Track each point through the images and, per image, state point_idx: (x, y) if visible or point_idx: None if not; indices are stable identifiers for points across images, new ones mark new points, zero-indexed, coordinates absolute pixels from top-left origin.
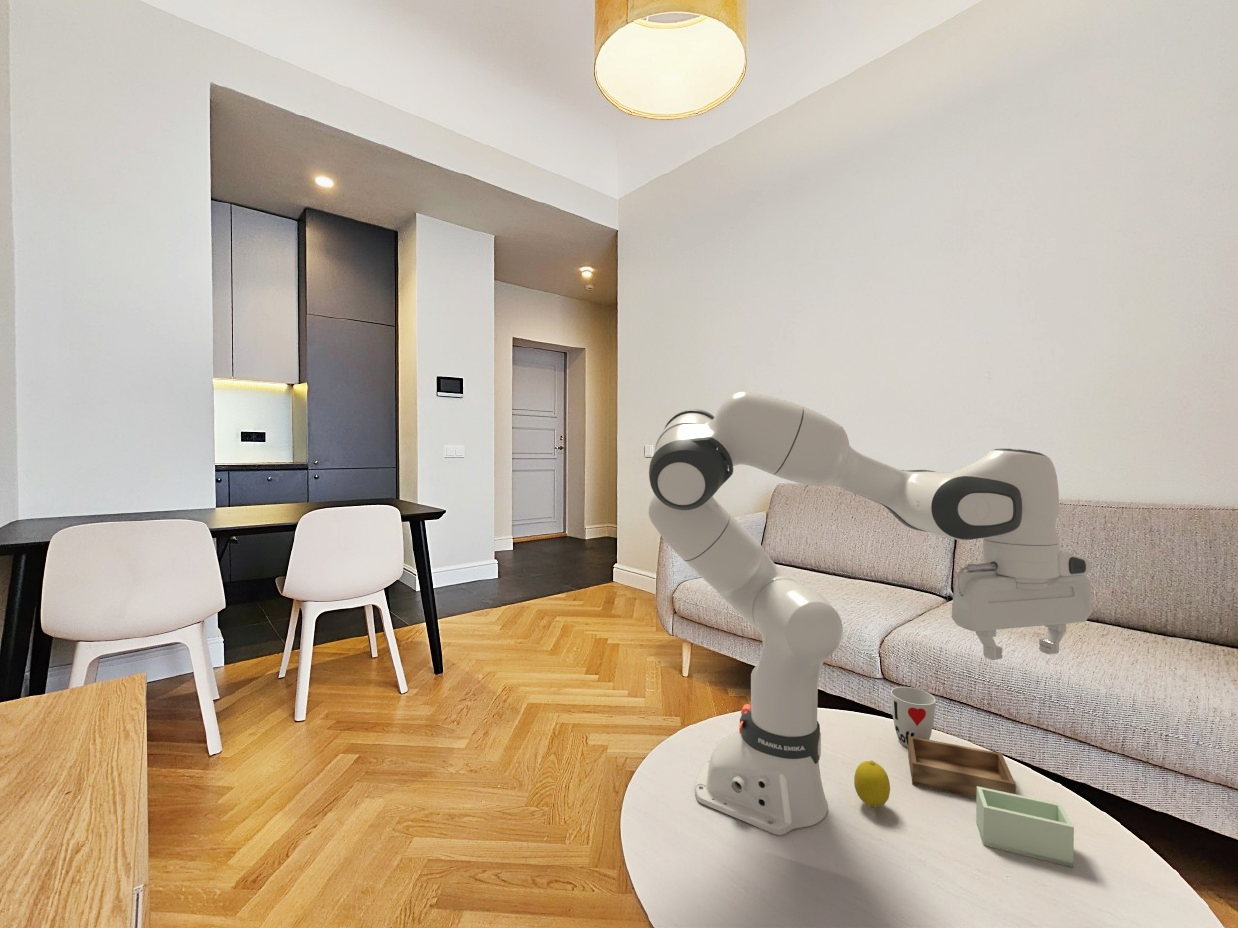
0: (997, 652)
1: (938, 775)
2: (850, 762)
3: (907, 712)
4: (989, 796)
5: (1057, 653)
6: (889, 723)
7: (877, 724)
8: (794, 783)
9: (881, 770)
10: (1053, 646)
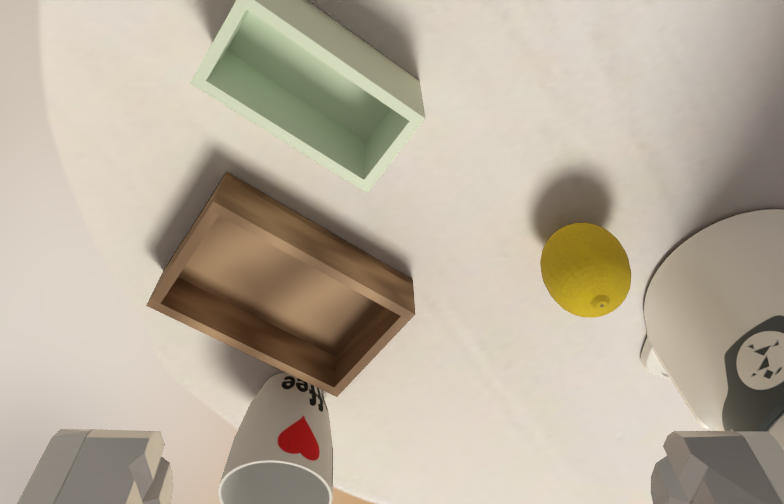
0: (760, 482)
1: (366, 275)
2: (492, 362)
3: (320, 451)
4: (349, 162)
5: (63, 430)
6: None
7: None
8: None
9: (587, 279)
10: (93, 488)
